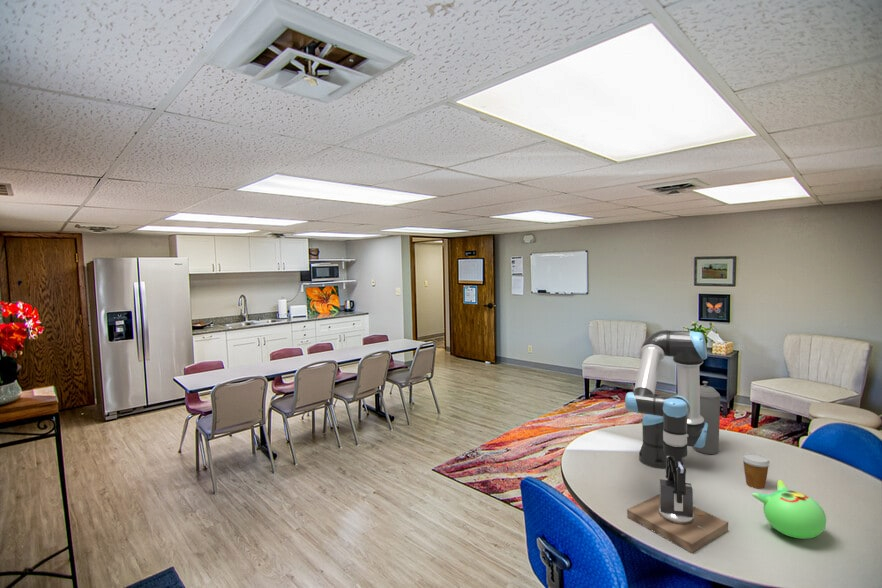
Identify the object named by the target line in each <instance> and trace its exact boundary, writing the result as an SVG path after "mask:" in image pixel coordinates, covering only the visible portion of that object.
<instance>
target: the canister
mask: <svg viewBox="0 0 882 588" xmlns="http://www.w3.org/2000/svg"><path fill="white" fill-rule="evenodd" d="M708 383H709V381H706V380H703V381H702V384H703V385H700V415H701V416H702V417H703V418H704V422H706V423H708V428H707V435H706V441H705V446H704V447H703V448H697V447H692V448H693V449H694V451H696V452H698V453H701V454H706V455H715V454H718V453H719V448H720V447H719V446H720V443H719V442H720V422H721V421H720V418H721V415H720V414H721V395H720V393H719V392H718V391H717V390H716V389H715V388H714V387H712V386H710V385H707V384H708Z"/></svg>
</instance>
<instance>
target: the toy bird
mask: <svg viewBox="0 0 882 588" xmlns="http://www.w3.org/2000/svg"><path fill="white" fill-rule="evenodd" d="M751 495H752V497H753V498H754V499H757V500H758V501H760V502H761V503H763V512H764V517H765V518H766V520H767V522H768V523H769V524H770V525H771V527H773V528H774V529H775V530H777V531H778V532H779V533H781V534H783V535H785V536H787V537H791V538H795V539H803V540H805V539H813V538H816V537H818V536H819V535H821V534H822V533H823V531H824V530H825V528H826V525H827V516H826V512H825V511H824V509H823V507H822V506H821V505H820V504H819V503H818V502H817V500H815V499H814V498H812V497H811V496H809V495H807V494H804V493H802V492H799V491H796V490H795V491H794V490H789V489H788V487H787V486H786V484H785V482H784V481H783V480H781V479H778V480H777V484H776V491H774V492H773V493H770V494H765V493H759V492H752V493H751Z"/></svg>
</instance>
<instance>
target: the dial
mask: <svg viewBox="0 0 882 588" xmlns="http://www.w3.org/2000/svg"><path fill="white" fill-rule="evenodd" d="M673 491H675V485H674V481H670V480H667V479H662V478H661V479H659V494H660V506H659V514H660V515H661V516H662V517H663V518H664V519H666V520H668V521H670V522H673V523H677V524H689V523H692V522H693V520H694V514H693V507H694V506H693V502H694V501H693V500H694V495H693V494H694V492H693V485H692V483H691V482H690V483H688V482H686V495H683V511H675V510H674V494H673Z"/></svg>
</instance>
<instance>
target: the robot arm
mask: <svg viewBox="0 0 882 588" xmlns="http://www.w3.org/2000/svg"><path fill="white" fill-rule="evenodd" d="M707 347H708V346H707V343H706V338H705V335H704V333H702V332H701V331H693V330H667V329H662V330H659V331H656V332H654V333H652V334H651V335H650V336H648V337H647V338H645V340H644V342H643V343H642V346H641V349H640V355H641V359H640V363H639V367H638V372H637V375H636V380H635V383H634V388H633V391H629V392H627V393H626V394H625V398H624V406H625V409H626V410H627V412H628V411H629V412H630V413H636V414H643V416H642V423H641V426H642V445H641V447H640V450H639V453H638V460H639V461H640V463H642V464H643V465H646V466H649V467H651V468H657V469H658V468H659V469H665V479H666V480H670V481H674V485H675V491H673V494H674V510H675V511H683V495H686V483H687V482H686V481H687V480H686V479H687V478H686V472H687V468H686V467H684V461H683V460H682V459H683V458H685V457H687V456H688V447H691V448H693V447H697V448H703V447H704V446H705V441H706V435H707V428H708V423H706V422H704V418H703V417H702V416H701V415H700V386H701V384H700V381H701V380H700V366H701V365H702V364H703V363H704V360H706V359H708V349H707ZM665 357H672V361H673V363H675V364H676V369H677V370H676V371H677V372H676V374H677V375H676V376H677V395H673V396H662V395H655V393H656V387H657V382H658V377H659V371H660V367H661V361H662V360H663V359H664V358H665Z"/></svg>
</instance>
